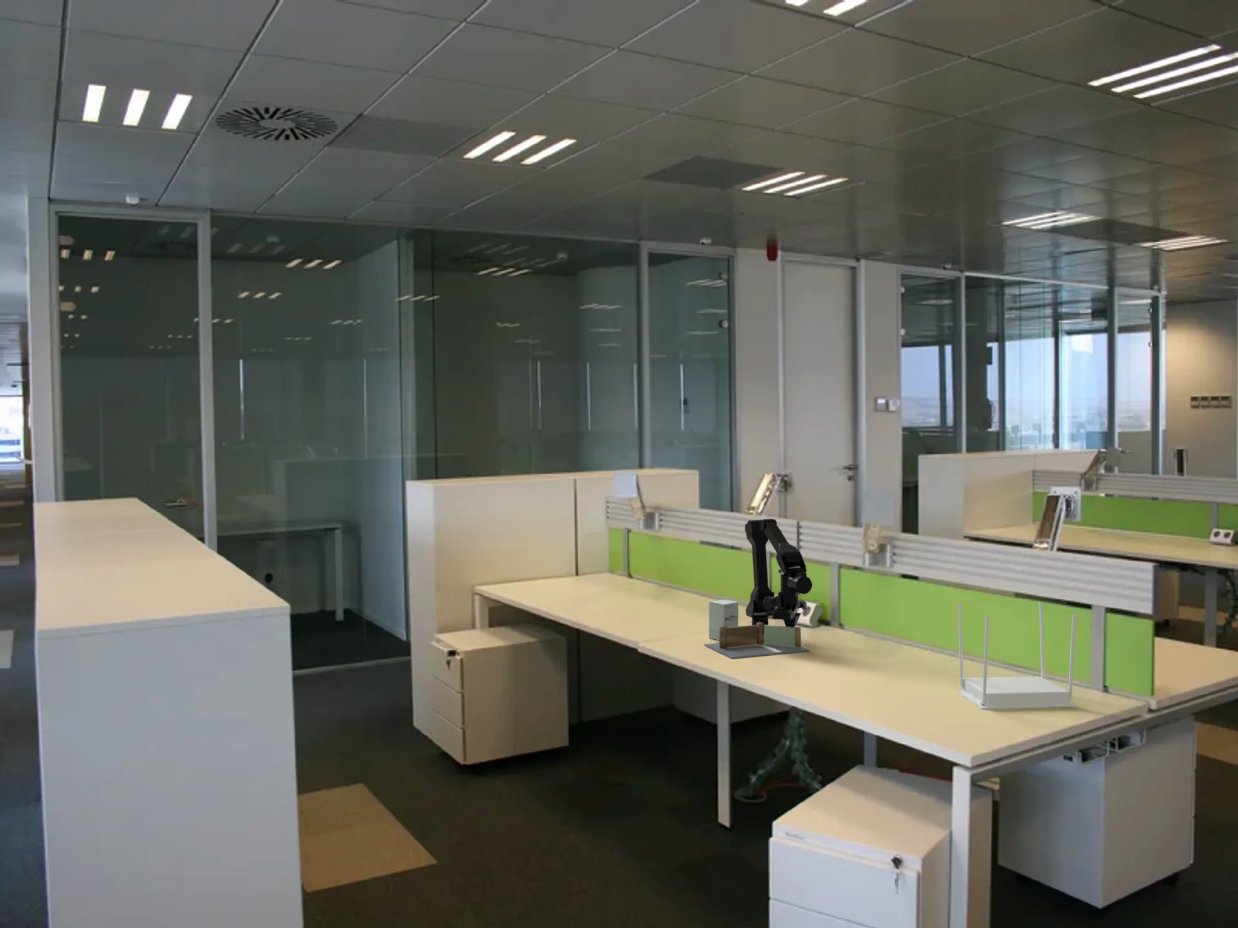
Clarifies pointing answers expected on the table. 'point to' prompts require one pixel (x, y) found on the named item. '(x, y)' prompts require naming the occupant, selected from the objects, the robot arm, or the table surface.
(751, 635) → the fixed fence section
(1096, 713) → the table surface
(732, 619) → the supplement box
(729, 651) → the card
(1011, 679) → the router
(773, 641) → the hinged fence panel
